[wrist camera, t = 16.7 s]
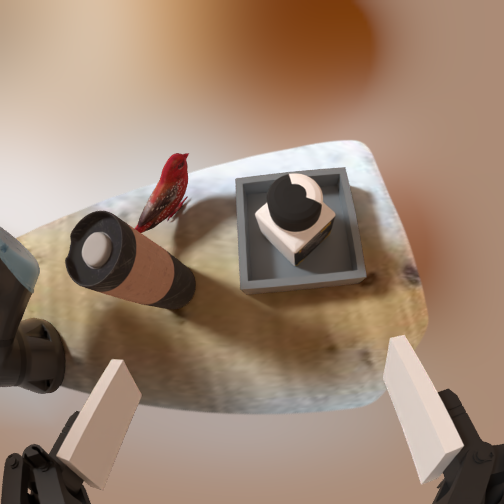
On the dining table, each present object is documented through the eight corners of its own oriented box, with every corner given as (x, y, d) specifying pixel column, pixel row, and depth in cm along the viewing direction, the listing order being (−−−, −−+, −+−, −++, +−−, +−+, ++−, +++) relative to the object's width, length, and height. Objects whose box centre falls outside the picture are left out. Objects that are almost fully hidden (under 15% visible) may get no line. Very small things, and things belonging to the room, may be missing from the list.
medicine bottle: (295, 267, 40) (294, 240, 28) (260, 233, 42) (246, 194, 30) (331, 233, 40) (342, 194, 29) (295, 201, 42) (294, 154, 31)
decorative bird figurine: (210, 183, 47) (190, 148, 37) (142, 267, 44) (106, 249, 35) (198, 175, 47) (177, 140, 38) (131, 257, 45) (96, 237, 36)
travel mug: (207, 288, 42) (138, 248, 23) (170, 321, 41) (81, 305, 22) (178, 251, 44) (103, 194, 25) (143, 283, 43) (55, 246, 24)
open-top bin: (246, 294, 41) (240, 289, 36) (241, 192, 45) (235, 178, 41) (359, 283, 39) (366, 276, 34) (341, 182, 43) (345, 167, 39)
